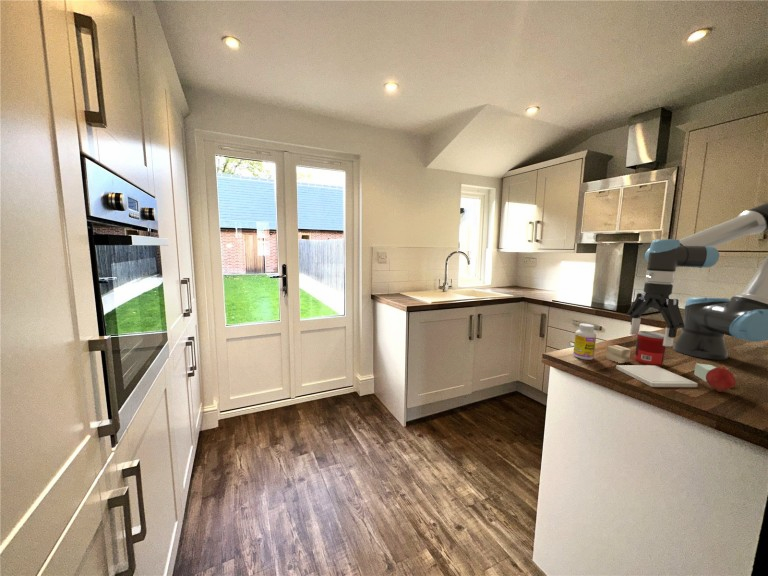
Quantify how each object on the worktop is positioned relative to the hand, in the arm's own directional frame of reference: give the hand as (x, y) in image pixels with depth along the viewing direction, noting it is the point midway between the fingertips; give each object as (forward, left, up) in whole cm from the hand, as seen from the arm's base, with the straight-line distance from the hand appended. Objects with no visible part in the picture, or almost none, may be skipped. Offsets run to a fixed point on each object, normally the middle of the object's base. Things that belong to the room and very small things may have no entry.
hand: (649, 339), depth 109 cm
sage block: (-7, +14, -9) cm, 18 cm away
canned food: (0, 0, -9) cm, 9 cm away
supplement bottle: (+21, -5, -9) cm, 23 cm away
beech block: (+10, -2, -9) cm, 13 cm away
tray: (+10, +13, -9) cm, 18 cm away
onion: (-1, +23, -9) cm, 24 cm away
